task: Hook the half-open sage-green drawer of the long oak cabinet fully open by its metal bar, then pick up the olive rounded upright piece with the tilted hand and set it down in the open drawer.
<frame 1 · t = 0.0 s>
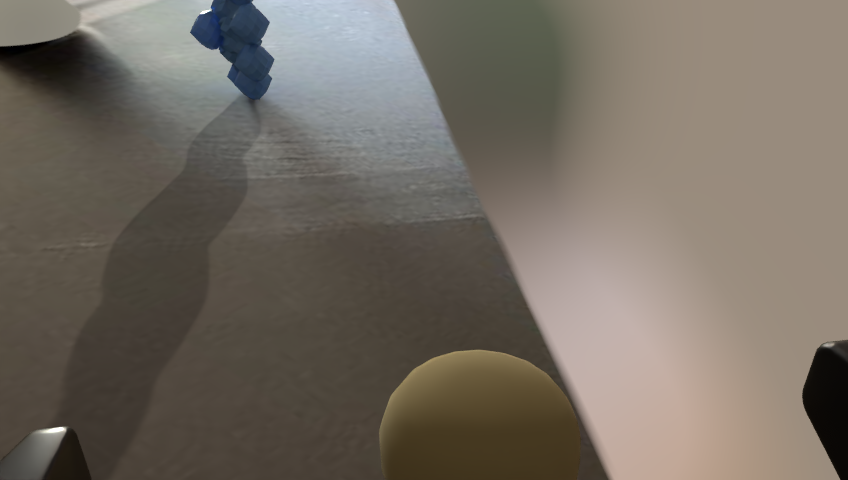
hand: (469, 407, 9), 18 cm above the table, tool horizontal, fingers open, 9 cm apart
grapes: (238, 95, 68), on the table
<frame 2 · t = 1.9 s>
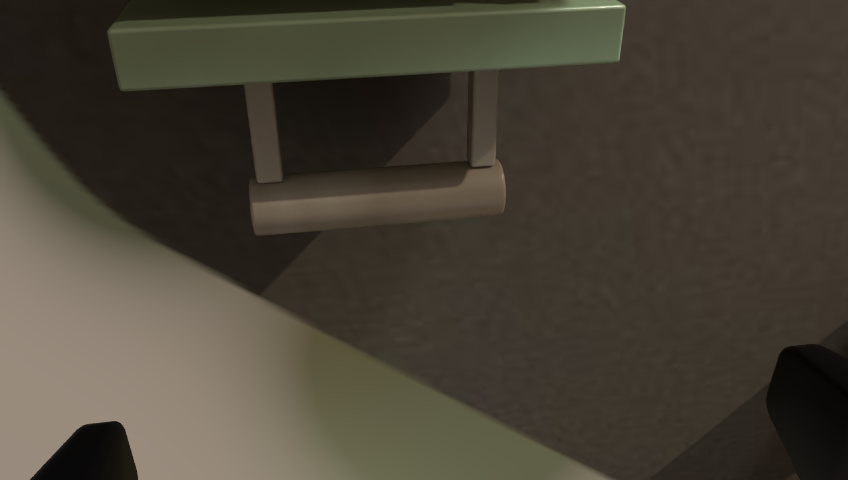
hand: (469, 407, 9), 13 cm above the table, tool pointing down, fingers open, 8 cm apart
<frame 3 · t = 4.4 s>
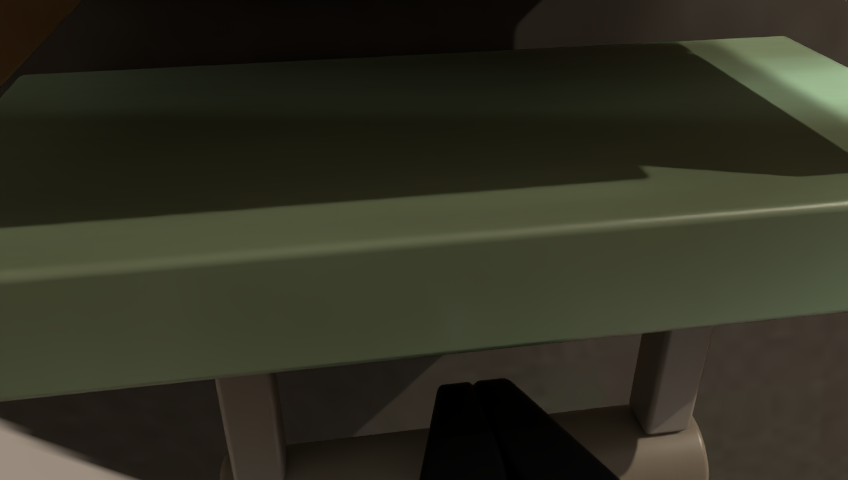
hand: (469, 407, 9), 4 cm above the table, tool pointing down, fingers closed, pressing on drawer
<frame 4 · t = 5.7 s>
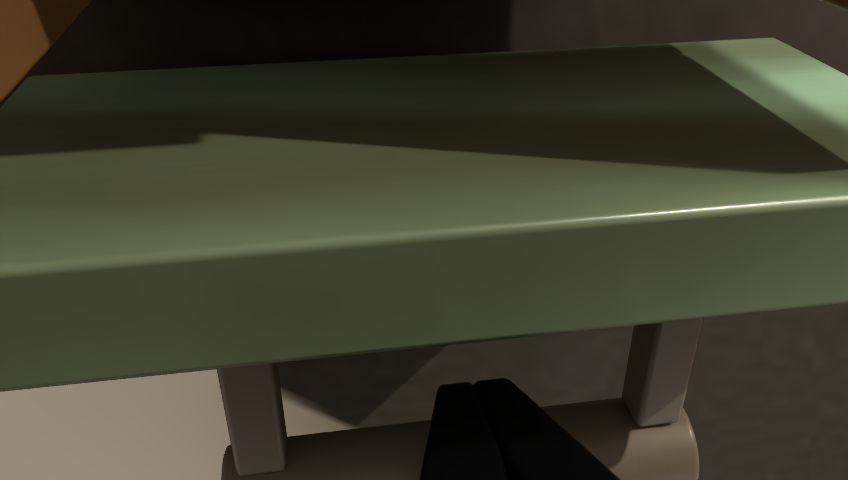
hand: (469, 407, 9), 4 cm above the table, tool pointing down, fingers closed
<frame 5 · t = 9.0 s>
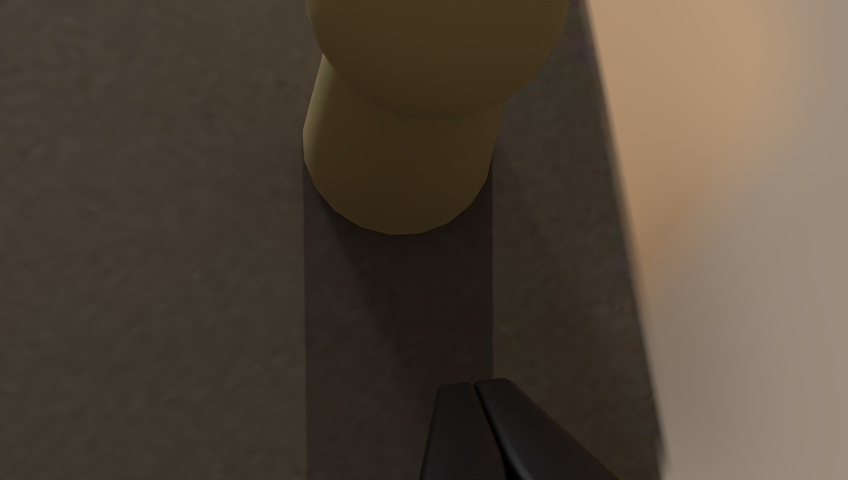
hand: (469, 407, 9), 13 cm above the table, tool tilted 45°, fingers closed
olive rounded upright piece: (398, 144, 24), on the table
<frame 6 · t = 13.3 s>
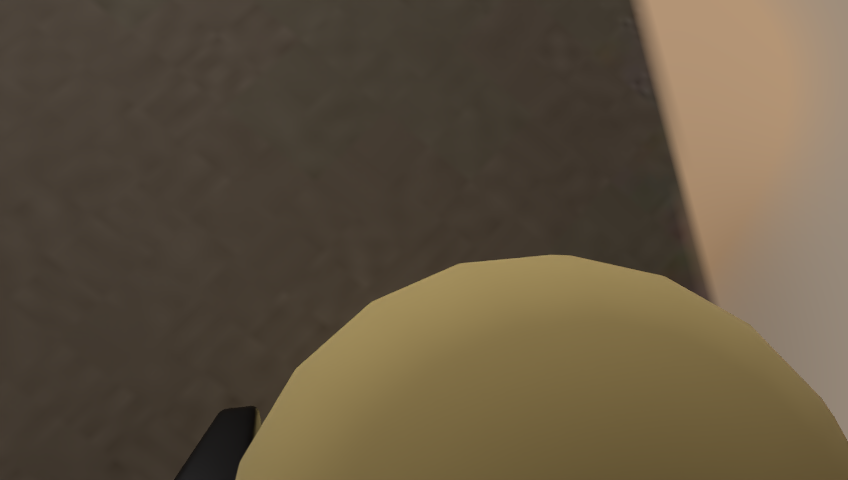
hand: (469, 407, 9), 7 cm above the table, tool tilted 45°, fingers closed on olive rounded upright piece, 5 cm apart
when the fingers open (8 cm above the table, at t = 21.4 s): olive rounded upright piece stays where it is, resting on drawer.
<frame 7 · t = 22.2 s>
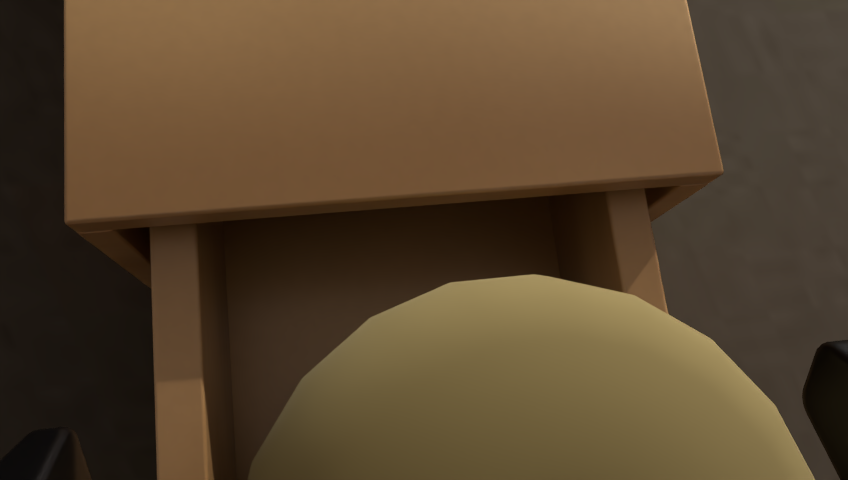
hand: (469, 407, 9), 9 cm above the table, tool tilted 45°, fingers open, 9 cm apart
drawer: (411, 352, 15), point 3 cm above the table, slide at 8.1 cm, touching olive rounded upright piece
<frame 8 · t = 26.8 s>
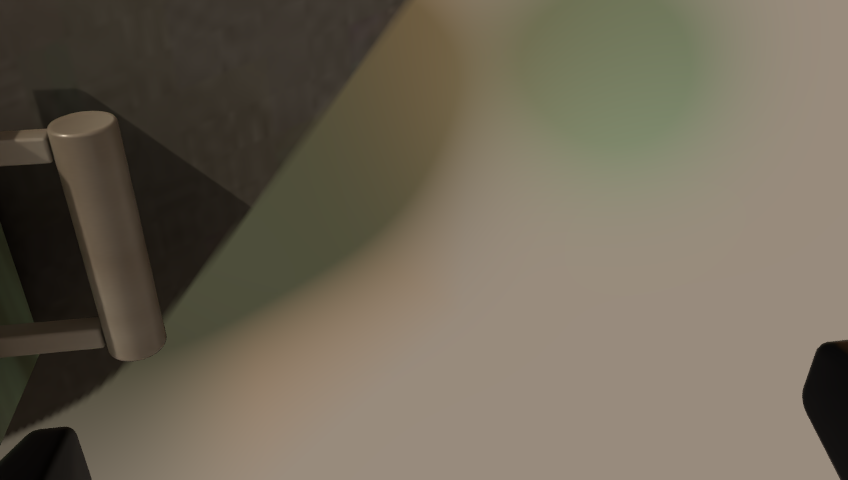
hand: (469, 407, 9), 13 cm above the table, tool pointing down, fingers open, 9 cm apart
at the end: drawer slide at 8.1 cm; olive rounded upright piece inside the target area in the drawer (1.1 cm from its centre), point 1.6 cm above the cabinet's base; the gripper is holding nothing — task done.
